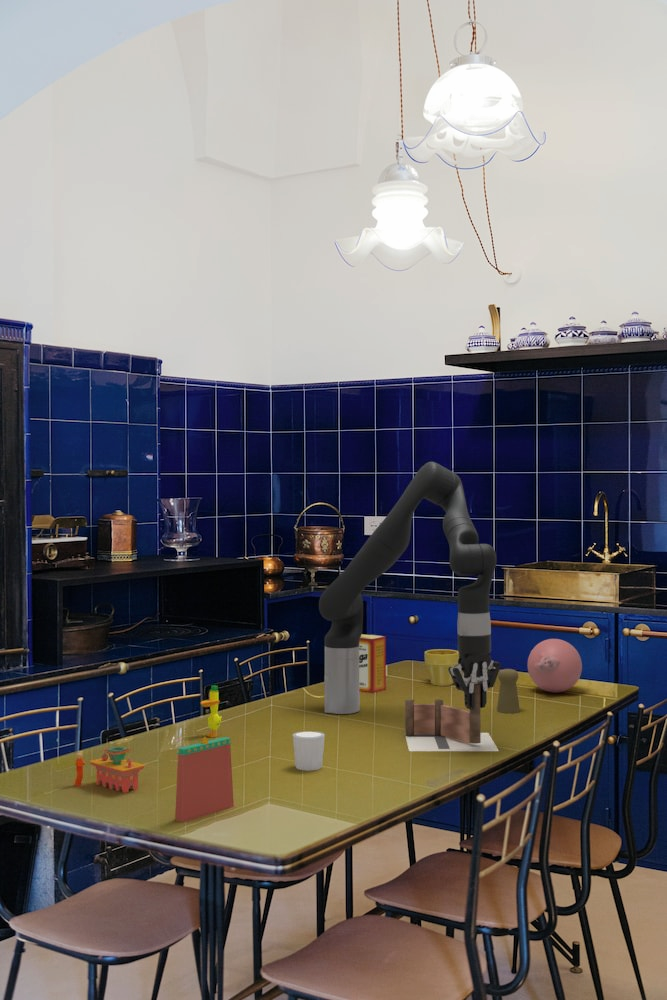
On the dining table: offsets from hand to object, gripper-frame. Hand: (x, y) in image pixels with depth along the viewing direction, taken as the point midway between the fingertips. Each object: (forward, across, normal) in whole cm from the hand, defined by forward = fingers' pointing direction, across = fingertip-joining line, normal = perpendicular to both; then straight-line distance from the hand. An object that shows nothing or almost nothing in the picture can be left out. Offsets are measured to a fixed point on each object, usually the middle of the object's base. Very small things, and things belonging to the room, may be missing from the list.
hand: (475, 707), depth 243 cm
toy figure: (+8, +48, -41) cm, 63 cm away
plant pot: (+10, -39, -69) cm, 80 cm away
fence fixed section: (+9, +4, -14) cm, 17 cm away
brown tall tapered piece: (+10, -32, -28) cm, 44 cm away
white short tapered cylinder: (+9, +41, -4) cm, 42 cm away
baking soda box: (+9, -15, -73) cm, 75 cm away
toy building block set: (+8, +78, -1) cm, 78 cm away
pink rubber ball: (+10, -58, -41) cm, 71 cm away
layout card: (+9, +3, -6) cm, 11 cm away
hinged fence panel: (+8, +1, -5) cm, 10 cm away
